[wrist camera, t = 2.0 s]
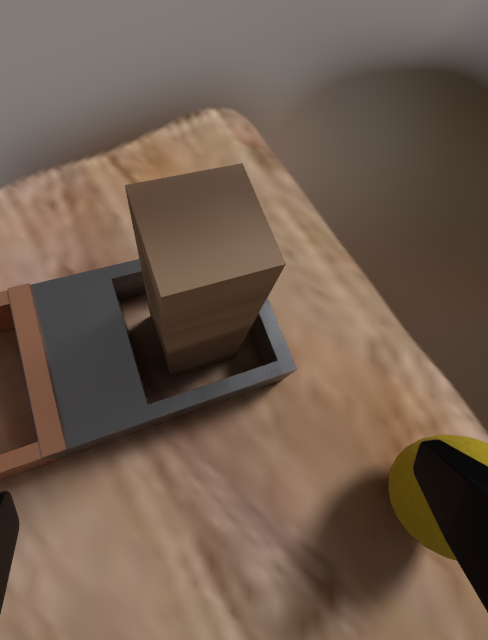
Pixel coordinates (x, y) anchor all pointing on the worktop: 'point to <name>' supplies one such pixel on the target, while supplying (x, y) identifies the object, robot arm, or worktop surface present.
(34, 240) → the worktop surface
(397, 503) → the lemon
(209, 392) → the rail
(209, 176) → the peg
